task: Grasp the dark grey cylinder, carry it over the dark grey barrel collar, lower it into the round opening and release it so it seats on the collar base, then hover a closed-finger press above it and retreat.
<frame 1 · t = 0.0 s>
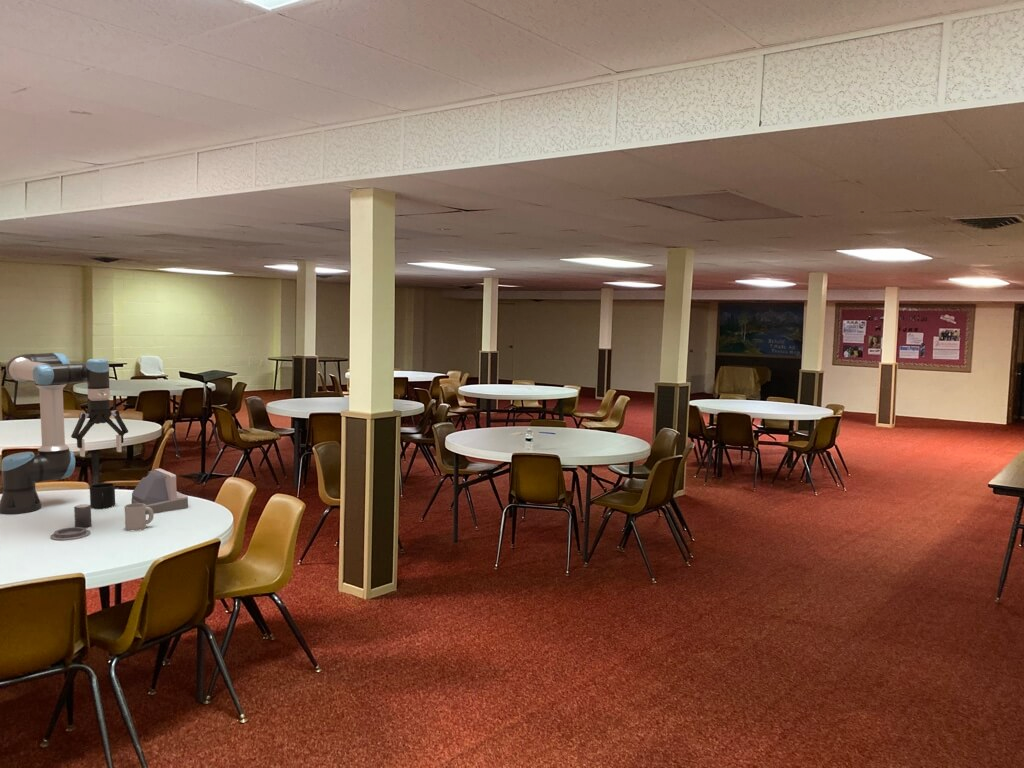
hand: (101, 454, 310), 28 cm above the table, fingers open, 13 cm apart
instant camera: (159, 507, 341), on the table
dark grey cylinder: (83, 526, 310), on the table
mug: (103, 507, 340), on the table
barrel collar: (70, 535, 298), on the table
cup: (139, 528, 309), on the table
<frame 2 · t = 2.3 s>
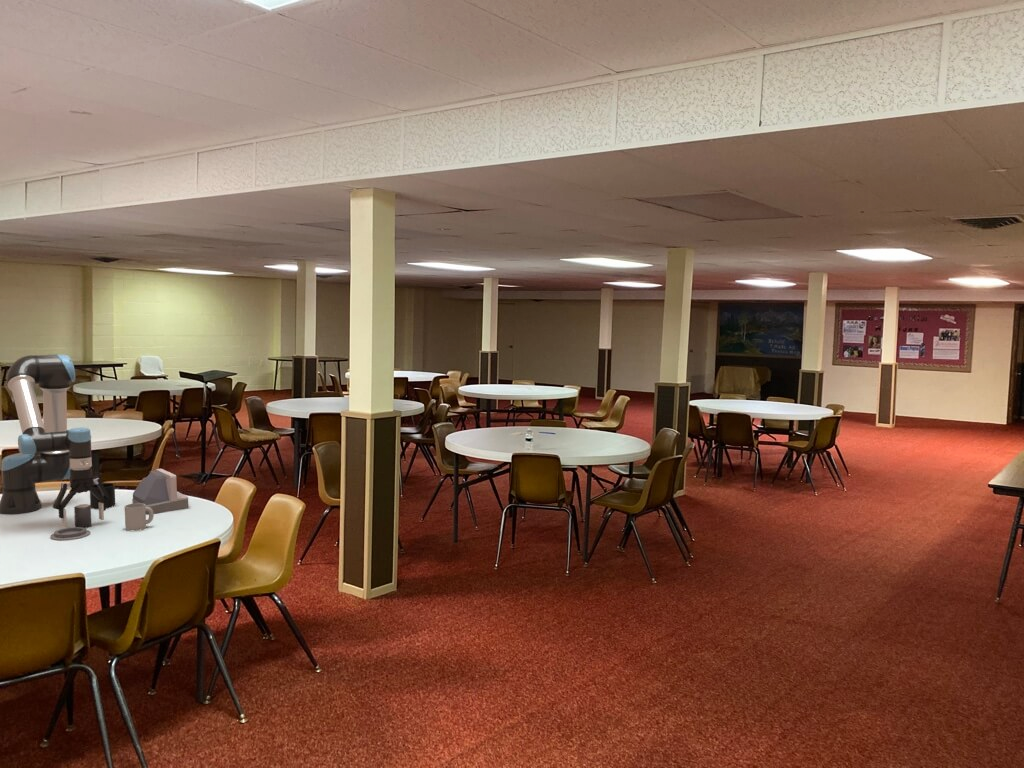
hand: (83, 522, 310), 2 cm above the table, fingers open, 13 cm apart
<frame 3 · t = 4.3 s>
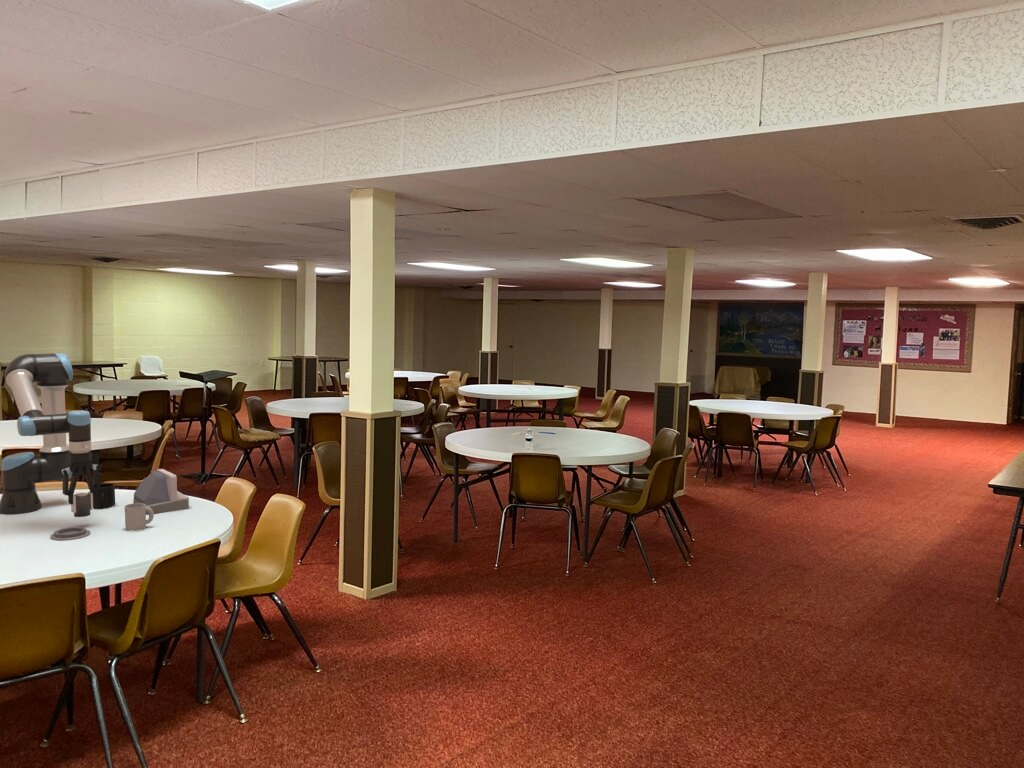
hand: (82, 510, 310), 6 cm above the table, fingers closed on dark grey cylinder, 5 cm apart
dark grey cylinder: (82, 515, 310), point 4 cm above the table, touching gripper
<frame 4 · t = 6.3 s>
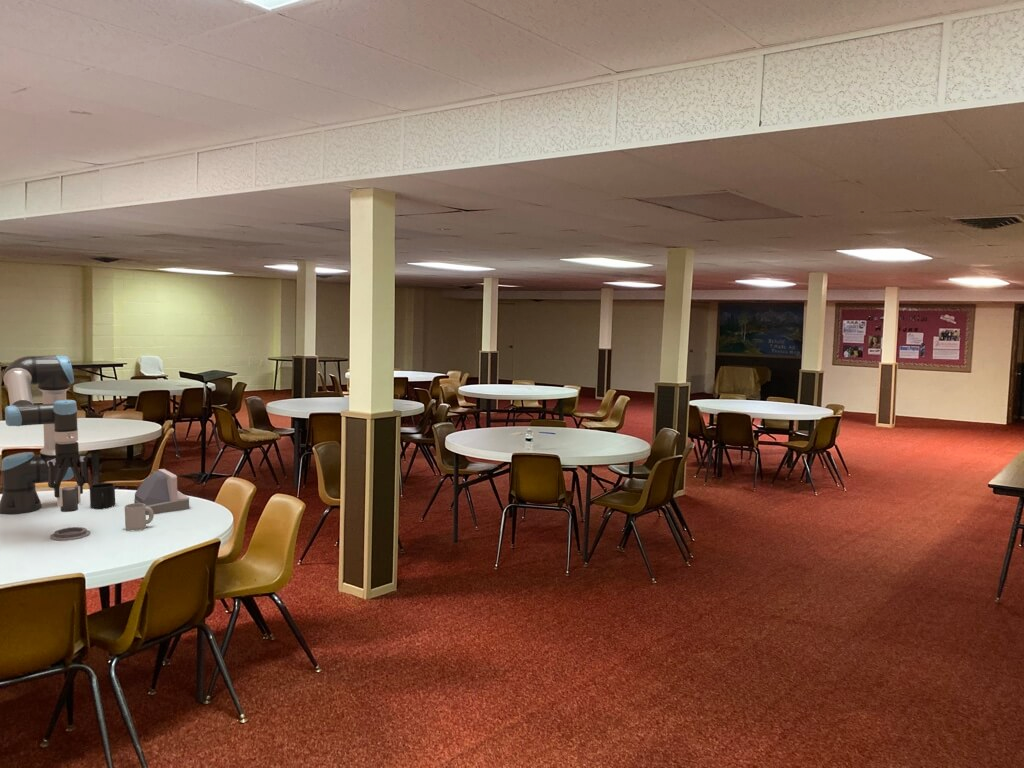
hand: (69, 504, 297), 12 cm above the table, fingers closed on dark grey cylinder, 5 cm apart
dark grey cylinder: (69, 510, 297), point 10 cm above the table, touching gripper
when the fingers open (2 cm above the table, at t = 8.6 s): dark grey cylinder stays where it is, resting on barrel collar.
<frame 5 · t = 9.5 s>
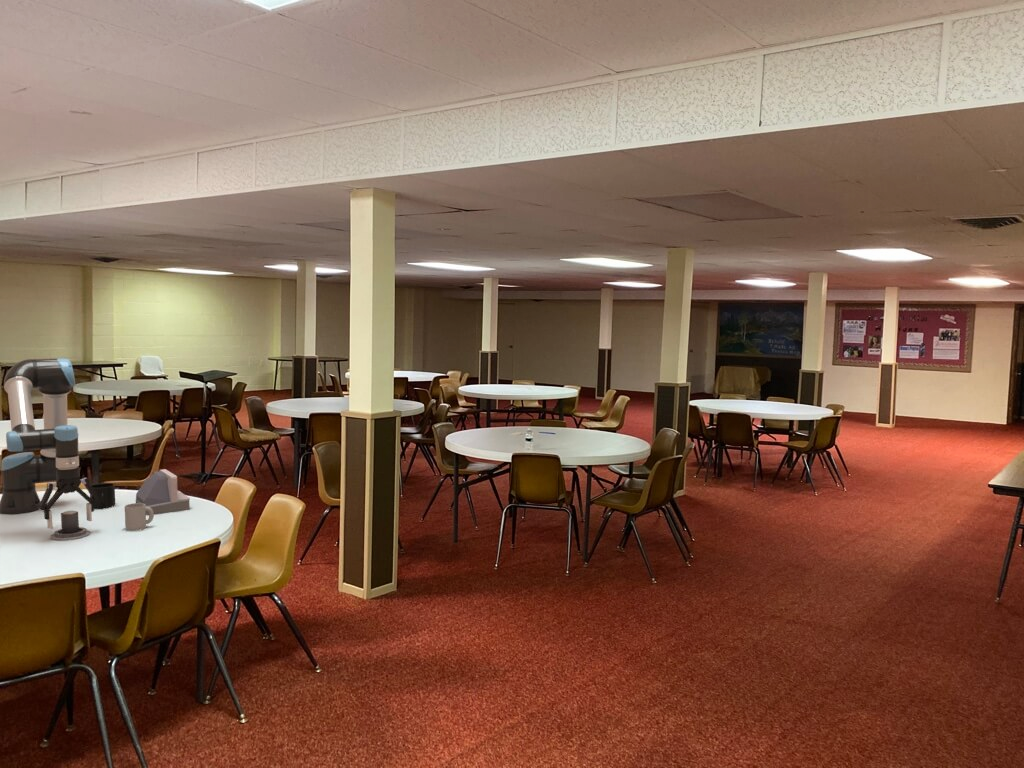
hand: (70, 524, 298), 4 cm above the table, fingers open, 13 cm apart
dark grey cylinder: (70, 534, 298), resting on barrel collar
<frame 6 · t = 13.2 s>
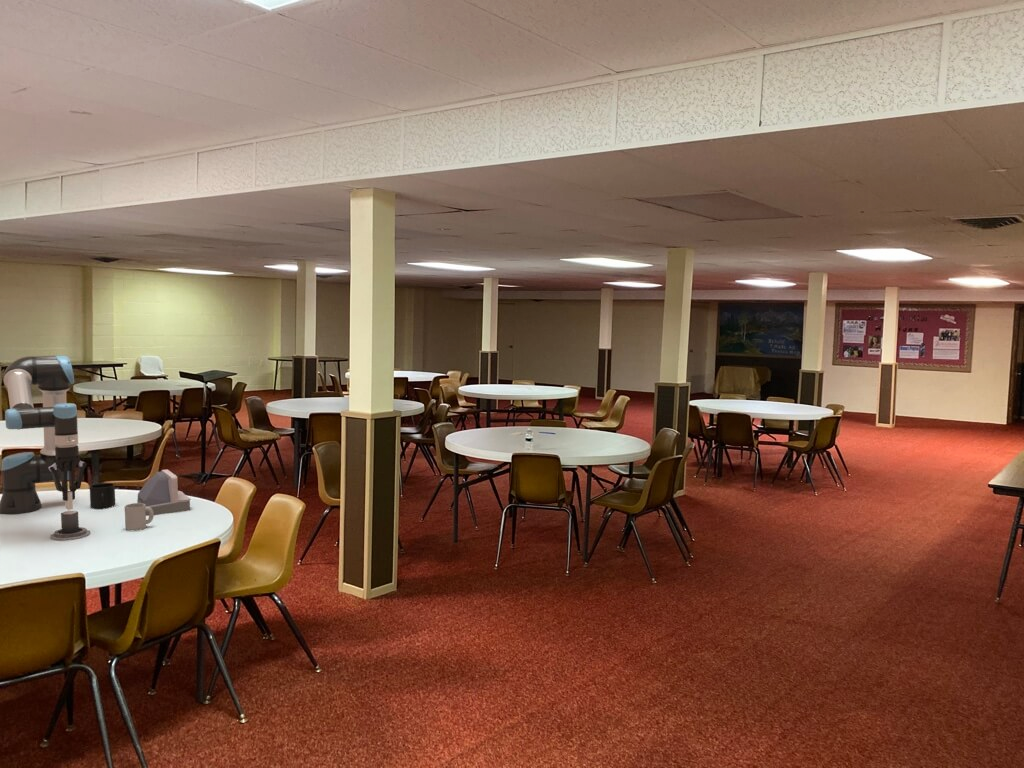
hand: (69, 508, 297), 10 cm above the table, fingers closed
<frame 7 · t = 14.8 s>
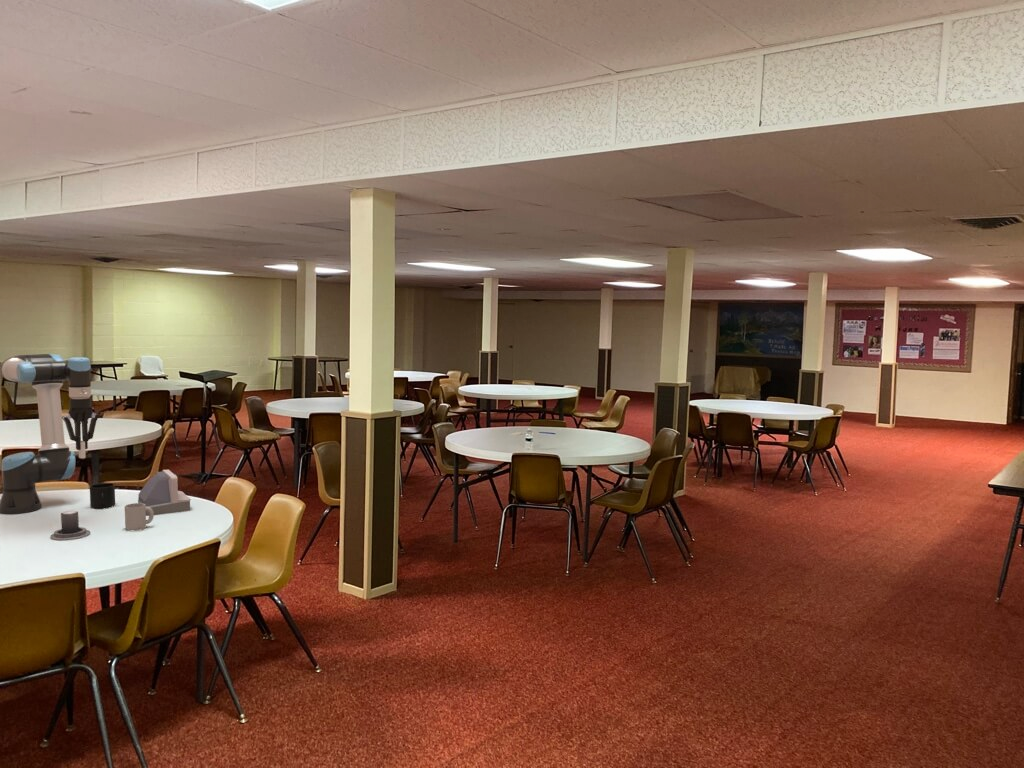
hand: (82, 457, 312), 26 cm above the table, fingers closed
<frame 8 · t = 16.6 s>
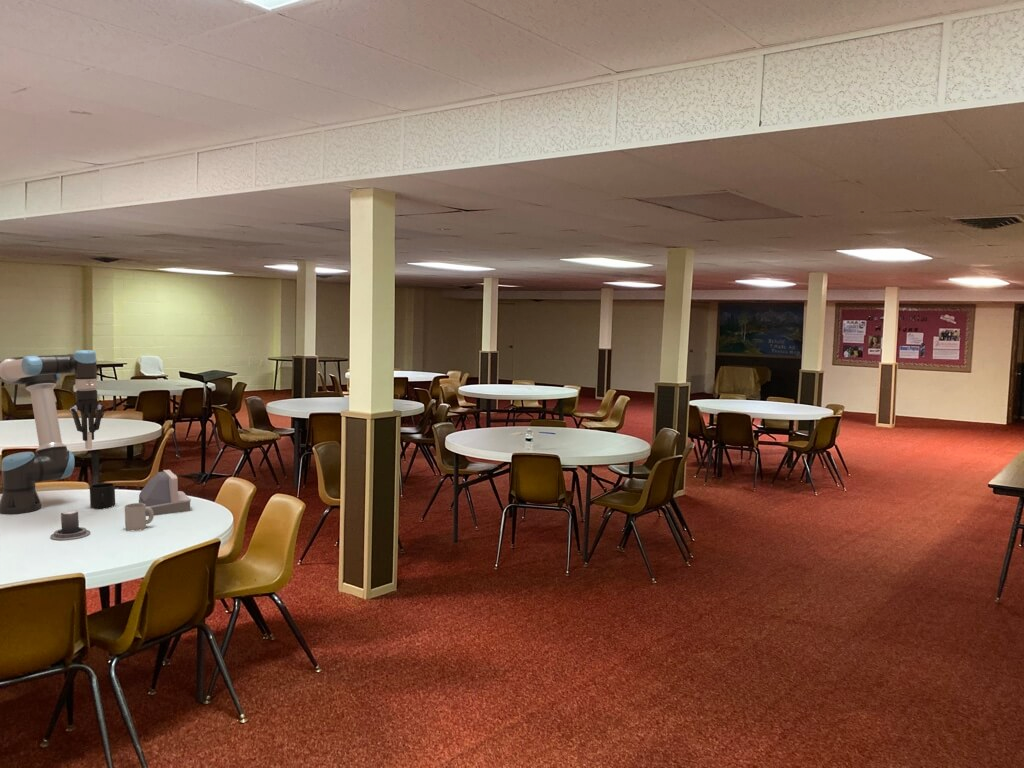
hand: (88, 448, 319), 28 cm above the table, fingers closed
at the end: dark grey cylinder 0.1 cm from the barrel collar (horizontally); dark grey cylinder point 0.5 cm above the table; dark grey cylinder tilted 0° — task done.
